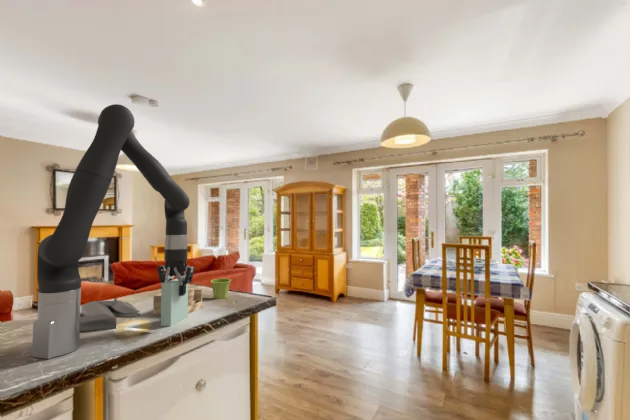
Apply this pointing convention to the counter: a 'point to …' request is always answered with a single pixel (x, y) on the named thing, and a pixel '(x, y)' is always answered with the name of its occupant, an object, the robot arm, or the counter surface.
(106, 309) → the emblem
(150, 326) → the counter surface
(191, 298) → the offcut middle
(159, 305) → the rack
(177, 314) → the tall board
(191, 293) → the offcut top
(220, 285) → the plant pot
